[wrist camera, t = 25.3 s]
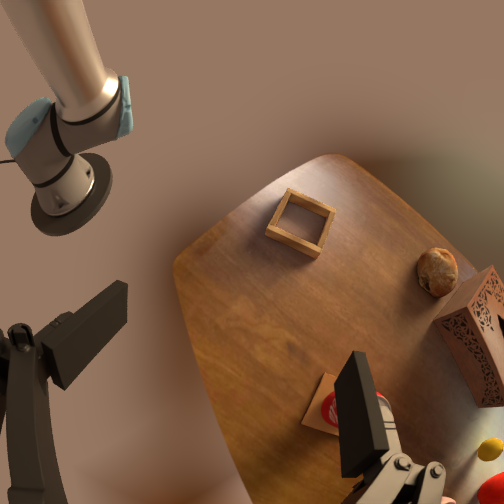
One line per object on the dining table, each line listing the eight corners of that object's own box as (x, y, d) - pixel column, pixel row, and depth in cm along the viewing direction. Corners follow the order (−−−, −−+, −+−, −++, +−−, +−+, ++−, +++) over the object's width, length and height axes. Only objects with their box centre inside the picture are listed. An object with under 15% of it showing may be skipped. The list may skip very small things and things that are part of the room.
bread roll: (402, 272, 52) (414, 269, 44) (431, 239, 51) (445, 231, 43) (430, 305, 49) (444, 307, 41) (458, 271, 48) (474, 268, 40)
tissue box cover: (433, 320, 44) (466, 306, 35) (463, 282, 48) (492, 264, 39) (478, 407, 36) (510, 405, 26) (504, 364, 40) (533, 356, 30)
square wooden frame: (264, 235, 49) (266, 228, 47) (285, 195, 53) (288, 187, 51) (316, 259, 48) (320, 253, 45) (332, 216, 52) (336, 209, 49)
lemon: (474, 439, 32) (499, 440, 25) (487, 436, 32) (511, 436, 25) (468, 461, 30) (492, 464, 23) (481, 457, 30) (504, 459, 22)
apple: (500, 478, 25) (534, 481, 13) (474, 513, 21) (507, 522, 9) (491, 461, 28) (529, 463, 16) (463, 499, 25) (500, 508, 13)
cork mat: (300, 423, 36) (301, 423, 35) (324, 372, 39) (324, 372, 39) (348, 438, 35) (349, 438, 34) (369, 389, 38) (370, 389, 38)
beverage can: (348, 382, 38) (386, 382, 28) (360, 414, 36) (400, 421, 25) (313, 399, 37) (343, 407, 26) (327, 432, 35) (359, 448, 24)
